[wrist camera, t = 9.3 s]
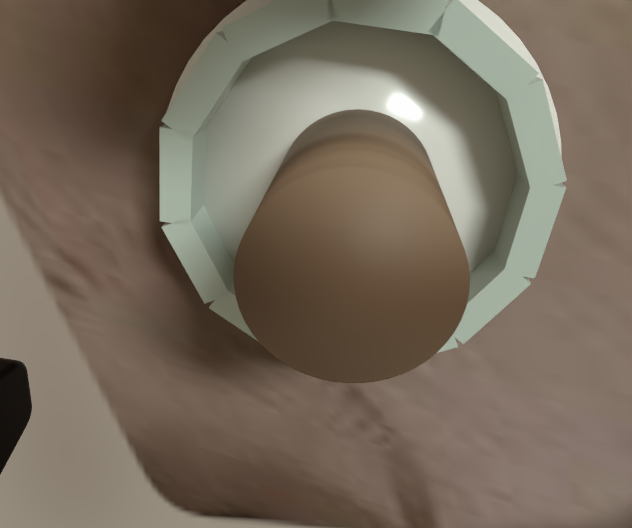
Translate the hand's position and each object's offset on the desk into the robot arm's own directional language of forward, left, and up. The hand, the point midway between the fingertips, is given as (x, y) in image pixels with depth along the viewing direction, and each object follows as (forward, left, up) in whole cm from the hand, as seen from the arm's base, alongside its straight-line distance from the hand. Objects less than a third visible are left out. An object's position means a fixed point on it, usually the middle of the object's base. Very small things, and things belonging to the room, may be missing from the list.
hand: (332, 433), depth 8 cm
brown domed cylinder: (0, 0, -11) cm, 11 cm away
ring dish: (0, 0, -12) cm, 12 cm away
